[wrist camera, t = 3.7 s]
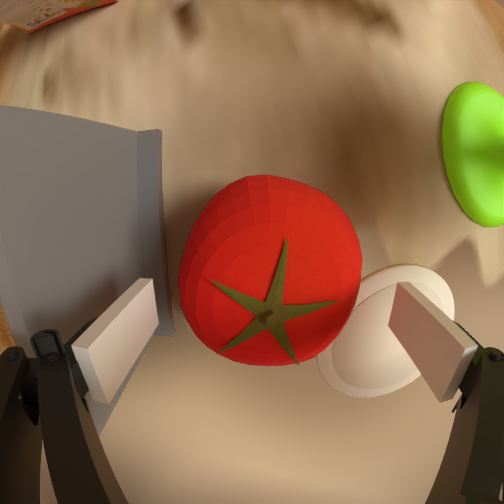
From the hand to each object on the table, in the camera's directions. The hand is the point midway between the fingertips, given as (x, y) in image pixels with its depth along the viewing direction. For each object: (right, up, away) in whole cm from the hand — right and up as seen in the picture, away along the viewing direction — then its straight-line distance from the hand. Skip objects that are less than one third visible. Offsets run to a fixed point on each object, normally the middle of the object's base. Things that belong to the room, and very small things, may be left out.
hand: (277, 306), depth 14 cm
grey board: (-11, +4, +9) cm, 15 cm away
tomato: (0, +3, +9) cm, 9 cm away
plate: (+13, -6, +11) cm, 18 cm away
